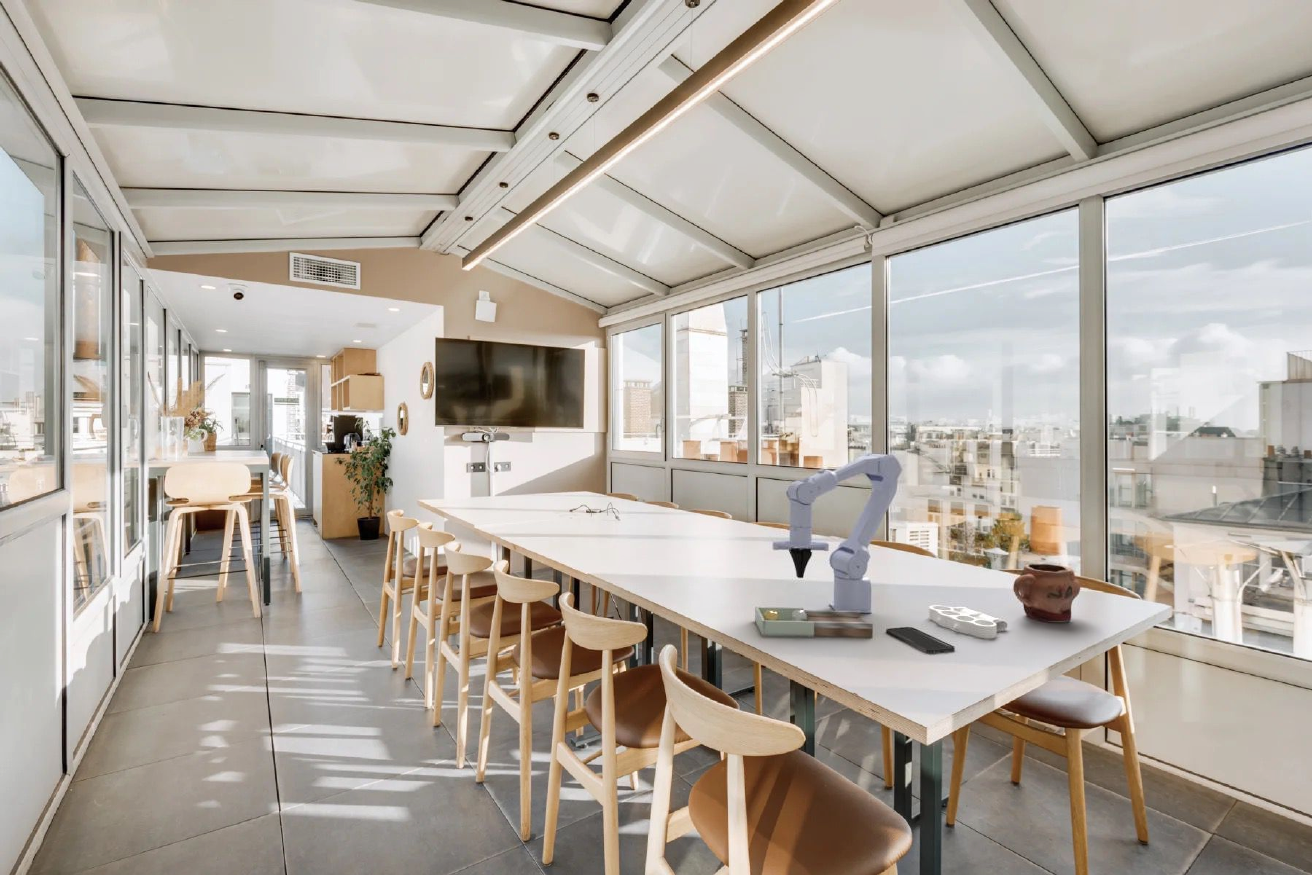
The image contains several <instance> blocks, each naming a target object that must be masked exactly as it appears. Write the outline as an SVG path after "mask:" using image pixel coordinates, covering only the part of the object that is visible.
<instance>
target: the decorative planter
mask: <svg viewBox="0 0 1312 875" xmlns="http://www.w3.org/2000/svg"><path fill="white" fill-rule="evenodd" d="M1012 588H1013V590H1012V591H1013V593H1014V595H1015V596H1016V598H1017V599H1018V601H1020V602H1021V604H1022V605H1023V611H1024V613H1025V615H1026V616H1027V617H1029V618H1031V619H1034V620H1037V621H1042V622H1048V623H1065V622H1069V621H1071V620H1072V604H1073V602H1074V600H1075V599H1076V598H1077V597H1078V596H1079V594H1080V592H1081V584H1080V583H1079V581H1078V580H1077V578H1076V575H1075V573H1074V571H1073V569H1071V568H1069V567H1067V566H1064V565H1056V564H1048V563H1041V564H1040V563H1037V564H1036V563H1035V564H1034V563H1032V564H1026V565H1025V566H1024V567H1023V570H1022V572H1021V574H1020V575H1019V576H1018V577H1016V578H1015V579H1014V582H1013V585H1012Z"/></svg>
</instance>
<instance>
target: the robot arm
mask: <svg viewBox="0 0 1312 875" xmlns="http://www.w3.org/2000/svg"><path fill="white" fill-rule="evenodd" d="M902 471H903V469H902V465H901V463H900V460H899V458H898V457H897V456H896V455H894V454H878V453H876V454H875V453H872V452H871V453H870V452H869V453H866V454H865V455H861V456H859V457H858V458H856V459H854V460H853V461H850V462H848V463H846V464H845V465H843V466H840V467H838V468H836V469H835V470H830V469H818V470H817V473H814V475H811V476H804V477H803V479H802V481H800V480H795V481H793V482H790V485H789V486H788V488H787V490H786V491H785V495H786V498H788V500H789V540H785V541H784V540H783V541H772V550H773V551H778V550H779V551H781V550H782V551H784V550H785V551H788V552H789V554H790V556H791V558H792V562H793V564H794V568H795V573H796V574H795V575H796V576H795V577H796V578H798V579H804V574H805V571H806V568H807V566H808V563H809V561H810V559H811V557H813V556H812V555H813V551H823V552H828V551H829V547H830V546H829V545H830V544H829V543H828V542H820V541H812V538H813V537H812V536H813V534H812V532H813V526H812V523H813V503H814V502H815V501H816V499H817V498H818V497H820V496H823V495H825V494H827V493H829V492H832V491H833V490H836V489H837V487H838V484H839V483H841V482H843V481H846V480H848V479H851V478H853V477H856V476H859V475H861V474H864V475H865V476H866V478H867V479H868V481H869V483H870V484H871V486H872V489H873V490H872V493H871V495H870V497H869V498H868V501H867V503H866V505H865V507H864V508H863V509H862V512H861V514H860V516H859V518H858V519H857V521H856V524H855V525H854V527H853V529H852V531H851V532H850V535H849V537H848V538H847V539H845V540H844V541H842V542H840V543H839V545H838V546H837V547H836V548H835V550H833V551H832V552H831V554H830V556H829V560H828V561H829V562H828V563H829V565H830V568H832V570H833V574H834V575H833V602H832V601H830V602H828V605H829V606H831V607H832V609H834V610H833V611H860V614H863V613H864V614H865V613H866V614H871V613H873V611H872V583H871V580H870V578H869V577H868V576H864V575H866V573H867V571H868V567H869V566H868V562H869V560H870V558H871V554H870V552H869V550H868V548H869V546H870V545H871V542H872V540H873V538H874V536H875V534H876V532H877V530H878V529H879V527H880V524H881V523H882V521H883V519H884V517H885V515H886V513H887V511H888V509H889V507H890V505H891V503H892V501H893V500H894V498H895V496H896V494H897V491H898V490H897V489H898V480H899V477H900V476H901V473H902Z"/></svg>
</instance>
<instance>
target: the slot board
mask: <svg viewBox="0 0 1312 875" xmlns="http://www.w3.org/2000/svg"><path fill="white" fill-rule="evenodd" d="M803 611H804V612H805V613H806V614H807V621H813V622H814V637H839V638H840V637H842V638H843V637H846V638H847V637H851V638H853V637H854V638H873V635H874V634H873V632H874V630H873V625H874V624H873V623H872V622H871V621H868V622H866V621H865V620H864V619H863V618H862V617H861V613H860V611H835V610H825V609H824V610H819V609H818V610H817V609H813V610H812V609H803Z"/></svg>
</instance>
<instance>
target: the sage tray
mask: <svg viewBox="0 0 1312 875" xmlns="http://www.w3.org/2000/svg"><path fill="white" fill-rule="evenodd" d="M754 609H755V610H754V611H755V616H754V619H755V620H754V621H755V623H756V624H757V627H758V629H759V632H760V634H761V636H762V637H784V638H785V637H787V638H788V637H790V638H794V637H795V638H814V637H815V636H814V622H813V621H791V614H792V612H793V611H794V610H797V609H800V610H804V608H803V607H776V606H775V607H774V606H773V607H772V606H769V607H768V606H767V607H766V606H755V608H754ZM767 610H774V611H776V612H777V613H778V615H779V621H765V620H764V618H763V614H764V613H765V612H766V611H767Z"/></svg>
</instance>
